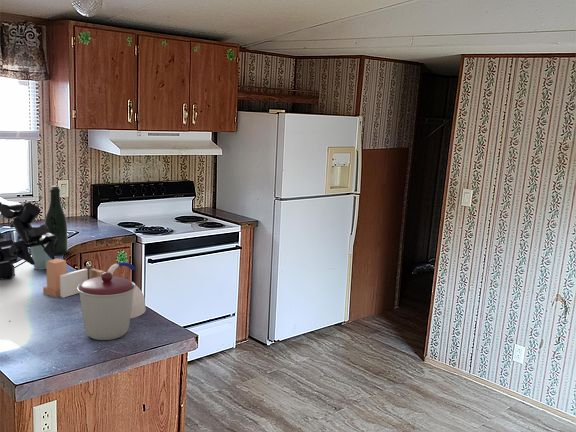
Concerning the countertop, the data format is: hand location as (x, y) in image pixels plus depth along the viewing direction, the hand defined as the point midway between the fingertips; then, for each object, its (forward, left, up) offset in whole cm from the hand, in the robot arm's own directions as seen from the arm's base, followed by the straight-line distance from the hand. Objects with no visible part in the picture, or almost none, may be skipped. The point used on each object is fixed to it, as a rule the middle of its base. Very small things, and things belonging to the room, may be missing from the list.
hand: (44, 262), depth 227 cm
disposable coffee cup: (-11, +30, -11) cm, 34 cm away
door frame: (+14, +2, -11) cm, 18 cm away
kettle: (+32, -22, -12) cm, 41 cm away
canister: (+33, -44, -11) cm, 57 cm away
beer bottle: (-12, +56, -11) cm, 58 cm away
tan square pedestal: (+6, -4, -11) cm, 13 cm away
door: (+12, -5, -11) cm, 17 cm away
